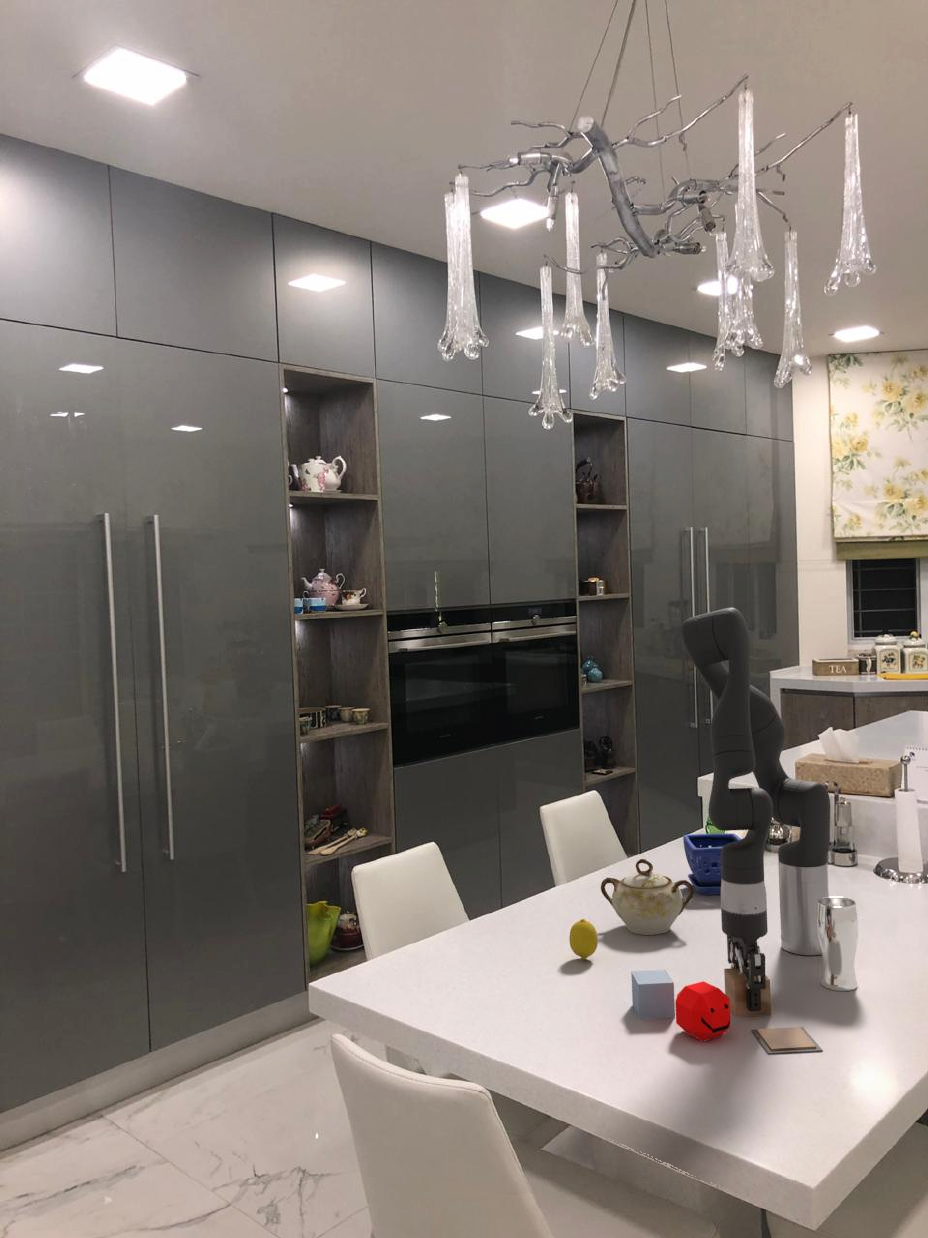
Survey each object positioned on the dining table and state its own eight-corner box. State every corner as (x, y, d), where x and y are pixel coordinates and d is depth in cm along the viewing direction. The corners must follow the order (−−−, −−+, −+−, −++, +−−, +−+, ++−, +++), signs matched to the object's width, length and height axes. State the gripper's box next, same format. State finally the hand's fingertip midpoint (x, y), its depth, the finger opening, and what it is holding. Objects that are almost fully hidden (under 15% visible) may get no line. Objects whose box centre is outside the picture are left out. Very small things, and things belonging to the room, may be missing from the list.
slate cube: (666, 1003, 176) (665, 969, 176) (675, 1018, 170) (673, 982, 170) (632, 1005, 176) (631, 971, 176) (639, 1020, 170) (638, 984, 170)
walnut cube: (759, 1001, 176) (758, 967, 175) (771, 1015, 170) (770, 980, 169) (725, 1003, 175) (724, 968, 175) (735, 1017, 169) (734, 982, 169)
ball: (701, 1049, 158) (699, 1001, 158) (668, 1031, 165) (666, 984, 165) (740, 1037, 162) (738, 990, 161) (706, 1020, 169) (704, 974, 168)
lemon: (597, 965, 196) (595, 924, 195) (568, 964, 197) (567, 923, 197) (599, 955, 201) (597, 915, 201) (571, 954, 202) (570, 914, 202)
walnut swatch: (802, 1028, 164) (802, 1025, 164) (822, 1051, 156) (822, 1048, 156) (751, 1031, 164) (751, 1028, 164) (768, 1054, 155) (768, 1051, 155)
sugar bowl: (594, 937, 212) (591, 865, 211) (609, 915, 226) (607, 848, 225) (690, 944, 205) (687, 871, 205) (699, 921, 219) (697, 852, 219)
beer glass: (859, 979, 183) (856, 897, 183) (860, 994, 177) (858, 908, 176) (818, 976, 186) (815, 894, 185) (818, 990, 179) (815, 906, 179)
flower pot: (751, 896, 235) (749, 845, 235) (694, 898, 235) (692, 847, 235) (737, 880, 248) (735, 832, 248) (683, 882, 249) (681, 834, 248)
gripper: (779, 917, 165) (783, 1018, 165) (752, 892, 179) (755, 984, 180) (734, 919, 165) (737, 1020, 165) (710, 894, 179) (713, 987, 180)
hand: (747, 1001), depth 173 cm, fingers open, 7 cm apart
